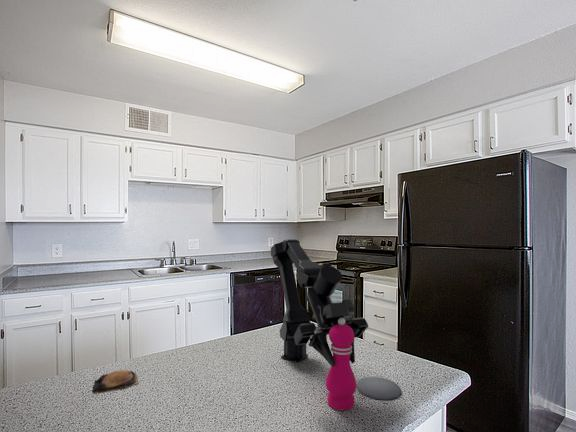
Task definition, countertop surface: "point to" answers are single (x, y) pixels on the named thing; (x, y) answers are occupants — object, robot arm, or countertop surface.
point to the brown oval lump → (115, 381)
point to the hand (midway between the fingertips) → (343, 364)
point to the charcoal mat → (378, 388)
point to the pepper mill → (341, 368)
